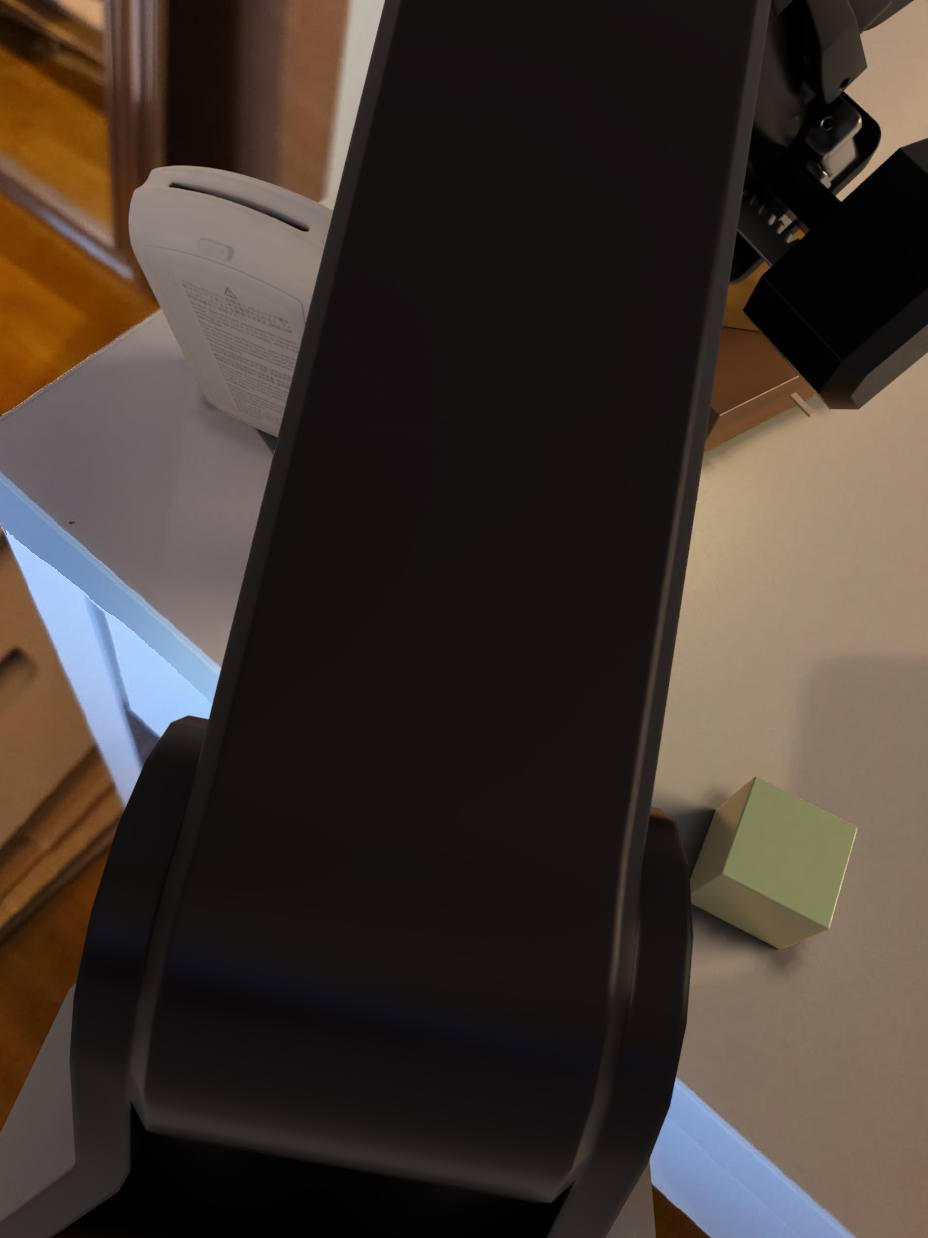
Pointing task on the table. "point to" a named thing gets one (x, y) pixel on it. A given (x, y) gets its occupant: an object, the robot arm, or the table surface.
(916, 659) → the table surface
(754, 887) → the cube
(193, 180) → the photo printer
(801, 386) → the block
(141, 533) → the table surface
